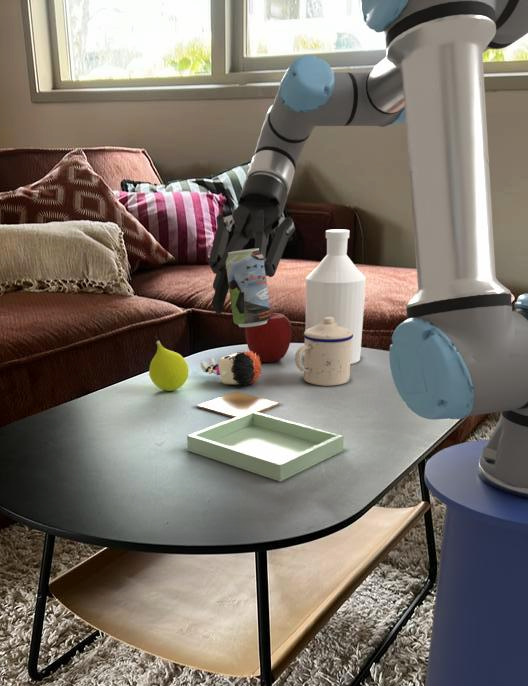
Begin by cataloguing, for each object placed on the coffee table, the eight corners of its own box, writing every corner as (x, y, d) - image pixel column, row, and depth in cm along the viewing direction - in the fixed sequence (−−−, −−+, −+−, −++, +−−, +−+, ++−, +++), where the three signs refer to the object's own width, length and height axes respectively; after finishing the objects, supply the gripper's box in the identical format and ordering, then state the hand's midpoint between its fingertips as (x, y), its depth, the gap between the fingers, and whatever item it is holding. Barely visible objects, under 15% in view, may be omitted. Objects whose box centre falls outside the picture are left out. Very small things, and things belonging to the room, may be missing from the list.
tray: (343, 450, 111) (343, 435, 110) (280, 481, 102) (280, 465, 101) (252, 425, 122) (252, 410, 121) (187, 450, 112) (186, 435, 111)
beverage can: (261, 332, 119) (261, 252, 114) (219, 328, 122) (217, 249, 117) (277, 324, 124) (278, 247, 119) (236, 320, 127) (236, 244, 122)
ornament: (148, 386, 142) (144, 332, 138) (185, 382, 144) (182, 329, 139) (153, 397, 136) (149, 341, 131) (192, 393, 137) (190, 338, 133)
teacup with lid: (328, 370, 150) (331, 310, 145) (360, 381, 143) (364, 318, 138) (280, 381, 144) (281, 318, 139) (311, 392, 137) (313, 327, 132)
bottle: (354, 350, 164) (361, 226, 153) (367, 364, 153) (375, 233, 142) (300, 352, 163) (302, 228, 152) (308, 366, 153) (312, 234, 142)
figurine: (217, 348, 148) (265, 347, 140) (222, 380, 150) (269, 380, 143) (191, 356, 143) (239, 355, 135) (196, 388, 145) (244, 389, 138)
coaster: (279, 404, 131) (279, 402, 131) (240, 419, 124) (240, 417, 124) (236, 393, 137) (236, 391, 137) (197, 407, 130) (197, 405, 130)
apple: (288, 354, 162) (289, 306, 157) (294, 366, 153) (295, 316, 149) (244, 355, 161) (243, 307, 157) (247, 367, 153) (246, 317, 148)
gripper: (318, 205, 126) (283, 326, 120) (227, 203, 132) (189, 319, 126) (309, 171, 120) (271, 298, 113) (213, 171, 125) (172, 292, 119)
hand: (228, 309), depth 120 cm, fingers closed on beverage can, 3 cm apart
